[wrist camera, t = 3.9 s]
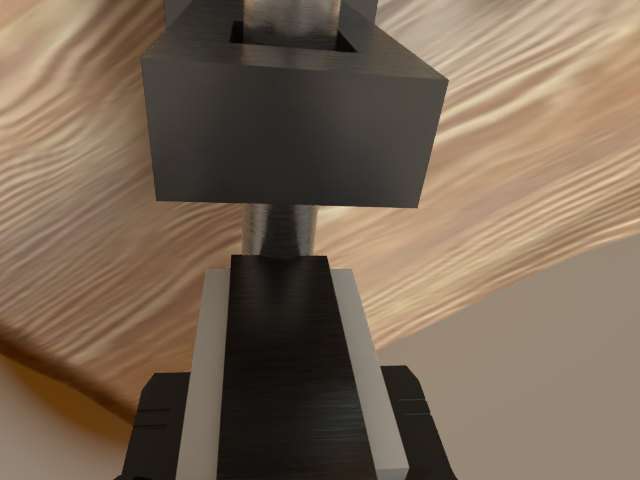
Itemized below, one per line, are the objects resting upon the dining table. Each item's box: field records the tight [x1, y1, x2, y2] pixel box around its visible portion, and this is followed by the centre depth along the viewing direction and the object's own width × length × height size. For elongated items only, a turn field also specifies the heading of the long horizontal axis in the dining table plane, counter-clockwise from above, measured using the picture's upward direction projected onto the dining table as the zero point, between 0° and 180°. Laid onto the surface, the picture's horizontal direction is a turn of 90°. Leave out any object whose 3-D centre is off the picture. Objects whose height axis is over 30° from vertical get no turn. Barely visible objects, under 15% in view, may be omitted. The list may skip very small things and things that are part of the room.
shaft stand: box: [141, 0, 449, 208], centre depth 16 cm, size 18×10×17 cm, turn 174°
